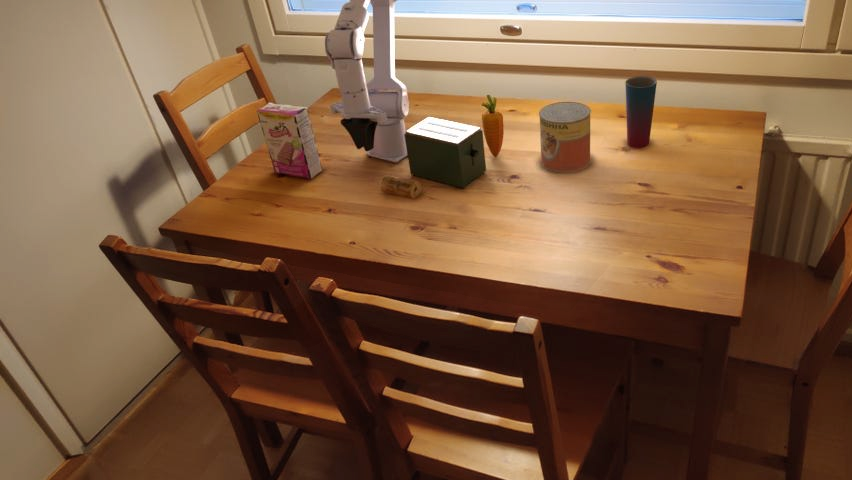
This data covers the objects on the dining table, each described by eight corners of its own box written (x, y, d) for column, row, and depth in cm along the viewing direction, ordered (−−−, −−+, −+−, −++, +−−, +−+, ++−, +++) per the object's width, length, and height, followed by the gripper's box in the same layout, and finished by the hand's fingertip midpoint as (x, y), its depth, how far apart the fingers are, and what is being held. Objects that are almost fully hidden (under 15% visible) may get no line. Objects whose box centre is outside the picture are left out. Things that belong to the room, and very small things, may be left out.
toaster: (410, 176, 158) (403, 131, 152) (434, 160, 164) (428, 116, 157) (467, 191, 150) (462, 144, 143) (490, 173, 156) (486, 127, 149)
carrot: (504, 161, 160) (499, 100, 151) (483, 161, 161) (477, 100, 152) (507, 152, 164) (503, 91, 155) (487, 152, 165) (481, 92, 156)
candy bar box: (273, 174, 165) (254, 110, 156) (286, 165, 169) (268, 101, 159) (311, 180, 161) (294, 114, 151) (323, 170, 164) (307, 105, 155)
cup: (620, 148, 160) (622, 86, 151) (626, 136, 165) (629, 75, 156) (650, 151, 157) (653, 88, 149) (655, 138, 162) (659, 76, 154)
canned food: (530, 161, 158) (528, 112, 152) (566, 145, 164) (565, 97, 157) (564, 177, 151) (563, 127, 144) (600, 160, 156) (601, 110, 149)
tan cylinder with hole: (422, 192, 151) (419, 176, 149) (412, 201, 148) (409, 185, 146) (391, 187, 155) (388, 171, 152) (380, 196, 152) (377, 179, 149)
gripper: (315, 90, 144) (329, 149, 151) (365, 100, 136) (377, 162, 144) (338, 78, 148) (351, 136, 156) (389, 88, 141) (399, 148, 149)
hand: (365, 148), depth 150 cm, fingers closed
